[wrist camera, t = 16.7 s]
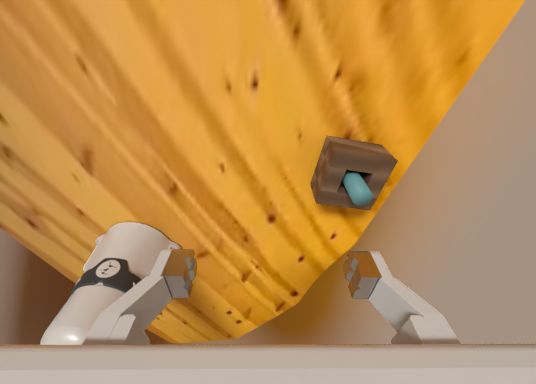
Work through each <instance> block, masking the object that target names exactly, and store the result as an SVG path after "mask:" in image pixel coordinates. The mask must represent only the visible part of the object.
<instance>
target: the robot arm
mask: <svg viewBox="0 0 536 384" xmlns="http://www.w3.org/2000/svg"><path fill="white" fill-rule="evenodd" d="M95 244H96V245H97V246H96V248H95V249H94V251H93V253H92V254H91V256H90V257H89V259H88V261H87V262H86V264H85V265H84V268H83V270H84V274H83V275H82V277H81V278H80V279H79V280H78V281H77V283H76V285H75V287H74V288H73V290H72V292H71V297H70V298H69V299H68V301H67V302H66V304H65V305H64V307H63V308H62V309H61V310H60V312H59V313H58V315H57V316H56V317H55V319H54V320H53V322H52V323H51V324H50V326H49V327H48V329H47V330H46V331H45V333H44V334H43V337H42V339H41V342H40V345H0V384H536V344H460V342H459V340H458V339H457V337H456V336H455V334H454V332H453V331H452V329H451V328H450V326H449V324H448V323H447V321H446V320H445V318H444V316H443V315H442V314H441V313H440V312H438V311H437V310H436V309H435V308H433V307H432V306H431V305H430V304H428V303H427V302H426V301H424V300H423V299H422V298H421V297H419V296H418V295H417V294H416V293H414V292H413V291H412V290H410V289H409V288H408V287H407V286H405V285H404V284H403V283H402V282H400V281H399V280H398V279H396V278H393V277H392V275H391V273H390V271H389V269H388V267H387V265H386V263H385V261H384V260H383V258H382V256H381V254H380V253H379V252H378V251H349V252H348V254H347V257H348V259H347V260H346V261H345V262H344V275H345V278H346V280H348V281H349V282H350V283H349V286H348V287H349V290H350V293H351V296H352V298H353V299H369V301H370V302H371V303H372V304H373V306H375V308H376V309H377V310H378V311H379V312H380V313H381V314H382V315H383V316H384V318H385V319H386V320H387V321H388V322H389V323H390V324H391V325H392V326H393V328H394V329H395V330H396V331H397V334H396V335H395V336H394V337H393V339H392V340H391V343H392V344H362V345H361V344H353V345H352V344H349V345H348V344H344V345H343V344H335V345H334V344H328V345H327V344H326V345H325V344H321V345H320V344H318V345H317V344H315V345H314V344H313V345H312V344H308V345H305V344H304V345H303V344H298V345H297V344H295V345H294V344H292V345H289V344H285V345H149V344H150V340H149V338H148V337H147V335H146V333H145V332H144V330H145V329H146V328H147V327H148V326H149V325H150V324H151V322H152V321H153V320H154V319H155V318H156V317H157V316H158V315H159V313H160V312H161V311H162V310H163V309H164V308H165V307H166V306H167V305H168V303H169V302H170V301H171V300H172V298H189V297H190V293H191V290H192V286H193V285H192V280H193V279H194V278H195V276H196V271H197V261H196V259H195V258H194V255H195V253H194V250H190V249H181V247H180V246H179V245H178V244H176V243H174V242H172V241H170V240H169V239H168V238H167V237H166V236H165V235H164V234H162V233H161V232H160V231H158V230H156V229H155V228H153V227H150V226H148V225H145V224H141V223H135V222H124V223H119V224H116V225H114V226H112V227H111V228H110V229H109V230H108V231H107V233H106V234H104V235H101V236H99V237H97V239H96V240H95Z"/></svg>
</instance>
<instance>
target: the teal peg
mask: <svg viewBox="0 0 536 384" xmlns="http://www.w3.org/2000/svg"><path fill="white" fill-rule="evenodd" d="M342 182H343V184H344V186H345V188H346V190H347V192H348V194H349V196H350V198H351V199H352V201H353V203H354V204H355V205H357V206H363V205H366V204H368V203H369V202H370V201H371V200H372V198H373V194H372V192H371V191H370V189H369V188H368V186H367V185H366V183H365V182H364V180H363V179H362V177H361V176H360V174H359V173H358V171H352V170H346V172H345V174H344V177H343V179H342Z"/></svg>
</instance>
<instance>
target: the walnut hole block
mask: <svg viewBox="0 0 536 384" xmlns="http://www.w3.org/2000/svg"><path fill="white" fill-rule="evenodd" d="M397 162H398V161H397V160H396V159H395V158H394V157H393V156H392V155H391V154H390V153H389V152H388V151H387V150H386V149H385V148H384V147H383V146H382V145H379V144H373V143H367V142H361V141H355V140H349V139H343V138H337V137H331V136H327V137H326V140H325V143H324V146H323V149H322V151H321V154H320V157H319V160H318V163H317V166H316V169H315V172H314V175H313V178H312V181H311V188H312V191H313V194H314V198H315V201H316V203H319V204H326V205H334V206H341V207H349V208H357V209H364V210H370V209H371V207H372V206H373V204H374V202H375V200H376V199H377V197H378V195H379V193H380V192H381V190H382V188H383V186H384V185H385V183H386V181H387V179H388V177H389V176H390V174H391V172H392V170H393V169H394V167H395V165H396V163H397ZM346 170H352V171H358V173H359V174H360V176H361V177H362V179H363V180H364V182H365V183H366V185H367V186H368V188H369V189H370V191H371V192H372V194H373V198H372V200H371V201H370V202H369V203H368V204H366V205H363V206H357V205H355V204H354V203H353V201H352V199H351V198H350V196H349V194H348V192H347V190H346V188H345V186H344V184H343V182H342V179H343V177H344V174H345V172H346Z"/></svg>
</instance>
